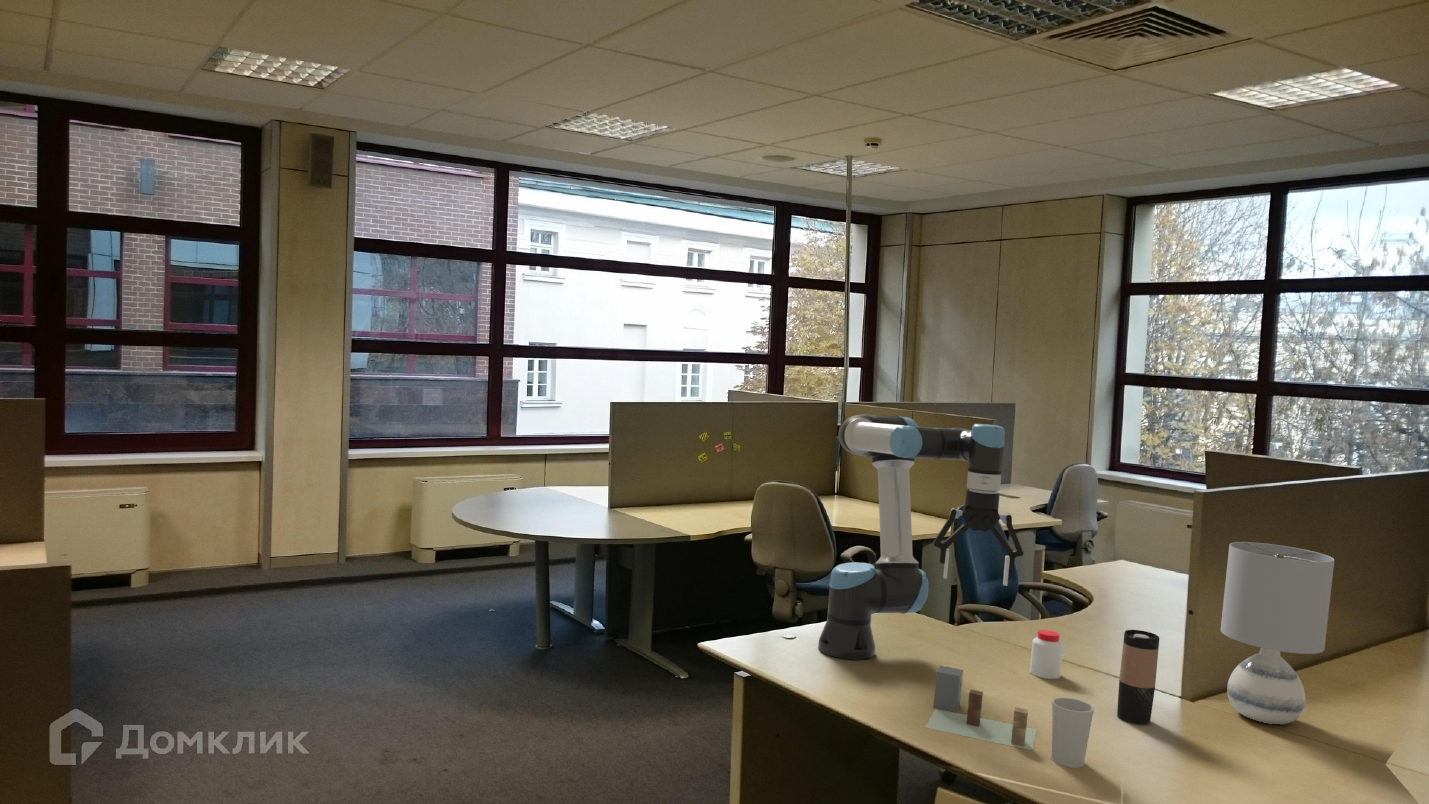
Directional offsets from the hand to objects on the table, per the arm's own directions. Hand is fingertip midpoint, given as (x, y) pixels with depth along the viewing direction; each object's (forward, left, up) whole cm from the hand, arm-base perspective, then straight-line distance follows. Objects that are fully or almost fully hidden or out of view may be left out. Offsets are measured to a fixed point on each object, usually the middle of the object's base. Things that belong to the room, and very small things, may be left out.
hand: (974, 581), depth 228 cm
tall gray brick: (-3, -6, -29) cm, 30 cm away
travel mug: (+37, +12, -29) cm, 48 cm away
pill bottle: (+16, +35, -29) cm, 48 cm away
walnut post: (+4, -14, -28) cm, 32 cm away
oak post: (+14, -20, -28) cm, 38 cm away
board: (+6, -16, -29) cm, 34 cm away
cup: (+24, -24, -29) cm, 45 cm away
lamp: (+66, +32, -29) cm, 79 cm away
